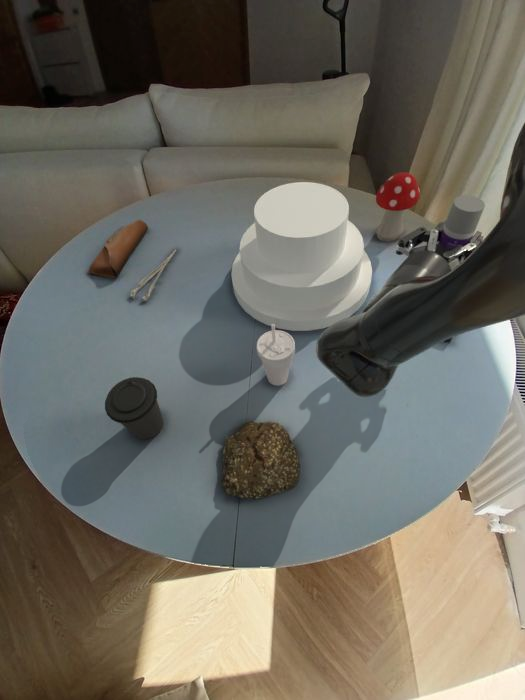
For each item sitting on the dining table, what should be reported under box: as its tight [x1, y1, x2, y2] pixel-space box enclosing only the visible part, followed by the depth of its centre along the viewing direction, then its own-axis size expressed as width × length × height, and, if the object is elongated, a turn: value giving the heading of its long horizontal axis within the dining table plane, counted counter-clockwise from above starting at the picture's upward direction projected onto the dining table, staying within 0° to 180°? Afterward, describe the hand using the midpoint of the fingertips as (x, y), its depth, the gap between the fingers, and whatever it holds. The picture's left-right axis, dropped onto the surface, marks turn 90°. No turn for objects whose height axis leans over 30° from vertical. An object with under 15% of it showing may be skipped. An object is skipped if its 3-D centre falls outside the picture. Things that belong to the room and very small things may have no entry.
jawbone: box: [129, 249, 177, 302], centre depth 91 cm, size 17×5×2 cm, turn 160°
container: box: [437, 194, 486, 250], centre depth 66 cm, size 5×5×15 cm
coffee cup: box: [104, 376, 164, 441], centre depth 64 cm, size 8×8×10 cm
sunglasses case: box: [87, 219, 149, 279], centre depth 96 cm, size 18×7×7 cm, turn 167°
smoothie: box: [256, 324, 296, 387], centre depth 66 cm, size 6×6×14 cm
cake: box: [230, 181, 373, 332], centre depth 80 cm, size 30×30×18 cm
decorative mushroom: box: [375, 171, 421, 242], centre depth 88 cm, size 10×9×15 cm
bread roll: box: [220, 420, 301, 500], centre depth 61 cm, size 13×12×5 cm
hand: (461, 230), depth 66 cm, fingers closed on container, 4 cm apart
